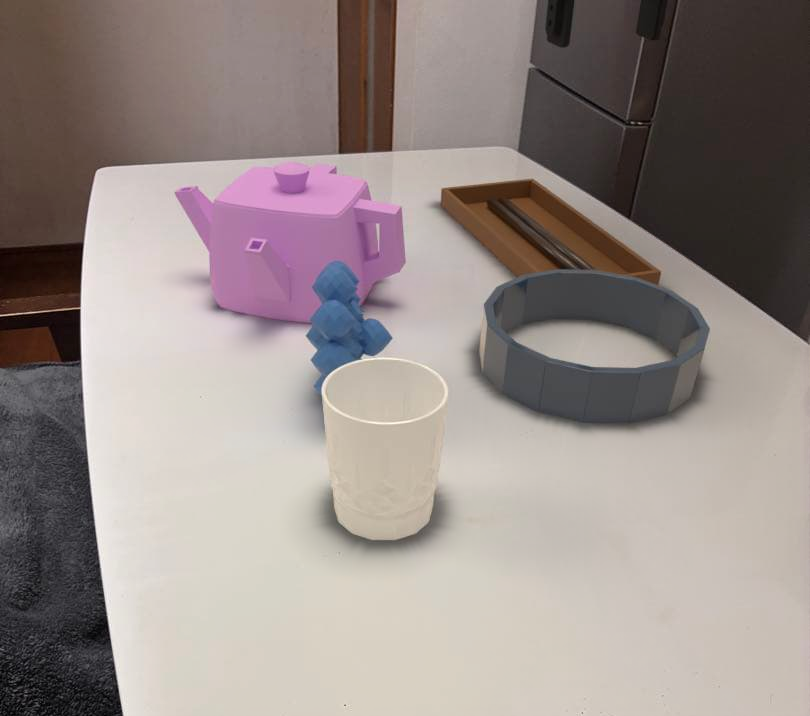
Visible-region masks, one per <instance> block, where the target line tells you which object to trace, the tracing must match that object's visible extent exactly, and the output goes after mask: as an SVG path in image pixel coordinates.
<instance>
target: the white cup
mask: <svg viewBox="0 0 810 716" xmlns="http://www.w3.org/2000/svg"><path fill="white" fill-rule="evenodd" d="M361 359H362V360H357V361H353V362H350V363H347V364H345V365H343V366H341V367H339V368H337V369H335V370H334V371H332V372H331V373H330V374H329V375H328V376H327V377H326V379H325V380H324V382H323V384H322V390H321V391H322V396H321V400H322V410H323V420H324V421H323V422H324V432H325V434H324V435H325V444H326V445H325V446H326V455H327V463H328V472H329V479H330V480H329V481H330V486H331V489H332V496H333V497H332V498H333V507H334V513H335V516H336V519H337V521H338V523H339V524H340V525H341V526H342V527H344V529H346V530H347V531H348V532H349V533H350V534H352V535H356V536H358V537H361V538H365V539H367V540H370V541H397V540H400V539H404V538H407V537H410V536H413V535H416V534H417V533H419V532H420V531H421V530H422V529H424V527H425V526H426V525H428V524H429V522H430V519H431V515H432V512H433V509H434V498H435V491H436V490H437V485H438V481H439V480H438V479H439V473H440V467H441V459H442V453H443V444H444V443H443V442H444V434H445V425H446V419H447V412H448V411H447V410H448V401H449V396H450V395H449V394H450V393H449V391H450V390H449V386H448V384H447V382H446V380H445V378H444V377H442V376H441V374H440V373H438V372H437V371H435V370H434V369H433V368H431V367H430V366H428V365H426V364H422V363H419V362H417V361H414V360H410V359H405V358H398V357H388V356H387V357H383V356H381V357H369V358H361Z"/></svg>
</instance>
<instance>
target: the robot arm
mask: <svg viewBox="0 0 810 716" xmlns="http://www.w3.org/2000/svg"><path fill="white" fill-rule="evenodd" d="M668 3H669V0H640V3H639V4H640V5H639V10H638V17H637V23H636V28H635V33H636V35H637V36H638V37H641V38H644V39H647V40H650V41H659V40H660V38H661V33H662V27H663V25H664V23H665V19H666V14H667V13H666V12H667V7H668ZM574 8H575V0H547V7H546V18H545V34H546V41H547V42H548V43H549V44H552V45H554V46H556V47H558V48H567V47H568V46H569V45H570V42H571V34H572V25H573V17H574Z"/></svg>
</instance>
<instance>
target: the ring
mask: <svg viewBox="0 0 810 716" xmlns="http://www.w3.org/2000/svg"><path fill="white" fill-rule="evenodd" d="M482 309H483V310H482V319H481V327H480V328H481V329H480V339H479V340H480V341H479V351H478V354H479V361H480V365H481V372H482V374H483V375H484V376H485V377H486V379H488V381H490V383H491V384H492V385H493V386H494V387H495V388H496V390H498V391H499V392H500V393H501V394H502V395H503V396H505V397H507V398H509V399H511V400H513V401H515V402H518V403H519V404H521V405H523V406H525V407H527V408H529V409H530V410H533V411H535V412H538V413H541V414H545V415H549V416H553V417H558V418H562V419H566V420H571V421H576V422H579V423H585V424H587V423H590V424H591V423H593V424H632V423H636V422H641V421H645V420H648V419H649V420H650V419H654V418H657V417H661V416H667V415H668V414H669V413H671V412H673V411H675V409H676V408H678V407H679V406H681V405H683V403H686V402H687V401H688V400H689V399H690V398H691V397H692V394H693V391H694V387H695V384H696V380H697V377H698V372H699V370H700V366H701V364H702V363H701V362H702V359H703V355H704V352H705V349H706V345H707V341H708V338H709V334H710V332H711V328H710V326H709V324H708V323H707V321H706V320H705V318H704V316H703V314H702V313H701V311H700V309H699V308H698V307H697V306H695V305H693V303H691V302H689V301H688V300H686V299H685V298H683V297H682V296H681V295H679V294H677V293H676V292H675V291H673V290H671V289H670V288H669V289H668V288H666V287H663V286H660V285H656V284H653V283H650V282H647V281H645V280H642V279H639V278H636V277H631V276H626V275H621V274H615V273H610V272H604V271H599V270H569V269H558V270H550V271H544V272H538V273H532V274H526V275H521V276H519V277H517V276H516V277H515V278H512V279H511V280H508V281H506V282H504V283H502V284H499V285H497V286H496V287H495V288H494V289H493V290H492V292H491V293H490V295H489V296H488V298H487V299H486V300H485V302H484V303H483V307H482ZM548 320H590V321H594V322H600V323H604V324H610V325H613V326H614V325H615V326H619V327H620V326H621V327H623V328H626V329H629V330H631V331H634V332H636V333H638V334H641V335H644V336H646V337H649V338H651V339H654V340H655V341H656V342H657V343H659V344H660V345H662V346H663V347H664V348H665V349H667V350H668V351H669V352H671V354H674V356H676V358H673V359H672V360H671V359H670V360H666V361H662V362H657V363H652V364H648V365H642V366H638V367H617V366H616V367H615V366H614V367H613V366H607V367H606V366H590V365H585V364H580V363H577V362H573V361H572V362H571V361H567V360H562V359H558V358H553V357H550V356H547V355H546V354H543V353H541V352H538V351H537V350H534V349H532V348H530V347H527V346H526V345H523V344H521V343H520V342H517V341H516V340H515V339H513V337H511V335H509V333H508V332H511V331H513V330H514V329H516V328H518V327H520V326H522V325H528V324H532V323H537V322H544V321H548Z"/></svg>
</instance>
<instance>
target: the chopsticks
mask: <svg viewBox="0 0 810 716" xmlns="http://www.w3.org/2000/svg"><path fill="white" fill-rule="evenodd" d="M487 206H488V207H489V208H490V209H491V210H492V211H494V212H495V213H496V214H497V215H498V216H499V217H501V218H502V219H503V220H504V221H505V222H507V223H508V224H509V225H510V226H511V227H513V228H514V229H515V230H516V231H517V232H518V233H520V234H521V235H522V236H523V237H524V238H526V239H527V240H528V241H529V242H530V243H532V244H533V245H534V246H535V247H536V248H538V249H539V250H540V251H541V252H542V253H543V254H545V255H546V256H547V257H548V258H549V259H551V260H552V261H553V262H554V263H555V264H557V265H558V266H559V267H560V268H561V269H569V270H596V269H595V268H593V267H592V266H591V265H590V264H588V263H587V262H586V261H585V260H583V259H582V258H581V257H580V256H578V255H577V254H576V253H575V252H573V251H572V250H571V249H570V248H568V247H567V246H566V245H565V244H563V243H562V242H561V241H559V240H558V239H557V238H556V237H554V236H553V235H552V234H551V233H549V232H548V231H547V230H546V229H544V228H543V227H542V226H541V225H539V224H538V223H537V222H536V221H534V220H533V219H532V218H531V217H529V216H528V215H527V214H526V213H524V212H523V211H522V210H521V209H519V208H518V207H517V206H516V205H514V204H513V203H512V202H510V201H509V200H508V199H507V198H505V197H500V198H499V199H498V201H497V200H496V199H495V198H490V199H488V201H487Z"/></svg>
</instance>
